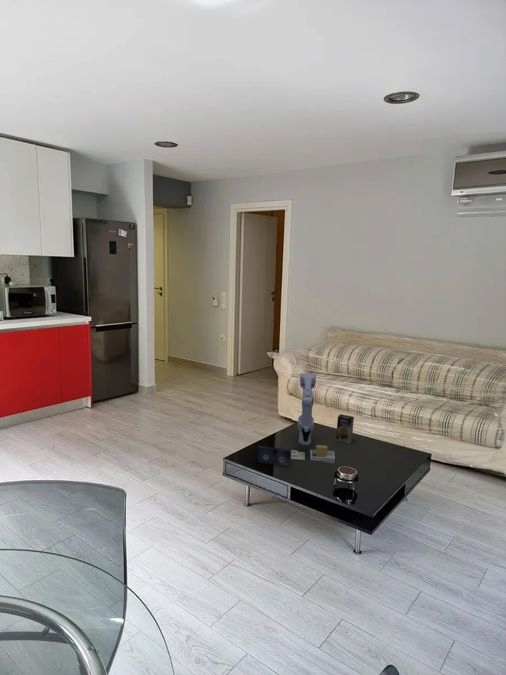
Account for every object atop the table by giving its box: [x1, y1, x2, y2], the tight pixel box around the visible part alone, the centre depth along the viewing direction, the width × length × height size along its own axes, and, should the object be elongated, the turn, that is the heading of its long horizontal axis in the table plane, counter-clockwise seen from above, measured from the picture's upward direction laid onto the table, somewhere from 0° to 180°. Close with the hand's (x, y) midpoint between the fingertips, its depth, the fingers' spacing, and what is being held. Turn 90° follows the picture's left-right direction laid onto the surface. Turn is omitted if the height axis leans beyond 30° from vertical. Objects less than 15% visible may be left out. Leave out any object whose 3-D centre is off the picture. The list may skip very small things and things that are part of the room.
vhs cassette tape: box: [257, 445, 292, 468], centre depth 250 cm, size 18×3×10 cm, turn 74°
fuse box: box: [290, 449, 306, 461], centre depth 262 cm, size 10×18×2 cm, turn 84°
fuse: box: [315, 444, 328, 457], centre depth 260 cm, size 3×6×7 cm, turn 84°
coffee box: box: [335, 413, 355, 444], centre depth 287 cm, size 9×6×16 cm
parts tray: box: [309, 449, 336, 465], centre depth 260 cm, size 10×14×3 cm
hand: (305, 438), depth 265 cm, fingers open, 7 cm apart
